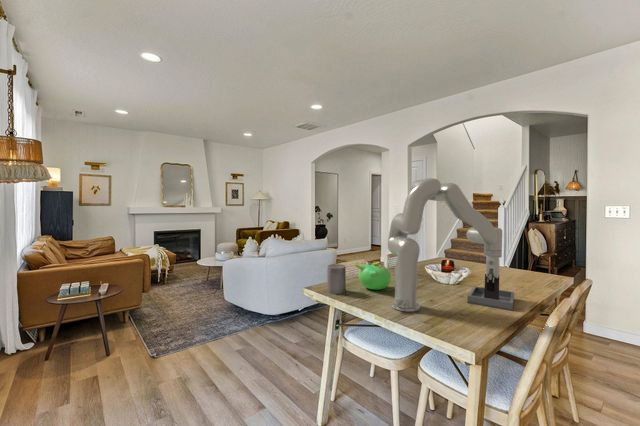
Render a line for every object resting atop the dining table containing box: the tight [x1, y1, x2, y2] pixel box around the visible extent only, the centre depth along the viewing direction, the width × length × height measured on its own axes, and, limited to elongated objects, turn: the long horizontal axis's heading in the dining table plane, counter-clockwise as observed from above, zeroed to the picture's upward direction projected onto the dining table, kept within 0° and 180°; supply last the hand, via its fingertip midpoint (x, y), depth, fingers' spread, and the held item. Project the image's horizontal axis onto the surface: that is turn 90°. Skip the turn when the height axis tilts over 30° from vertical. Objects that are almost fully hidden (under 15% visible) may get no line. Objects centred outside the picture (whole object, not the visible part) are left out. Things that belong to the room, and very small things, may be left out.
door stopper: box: [484, 273, 500, 300], centre depth 146 cm, size 9×6×12 cm, turn 148°
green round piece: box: [353, 261, 392, 291], centre depth 165 cm, size 18×17×15 cm
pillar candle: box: [326, 263, 347, 295], centre depth 160 cm, size 10×10×15 cm
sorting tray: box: [467, 286, 515, 312], centre depth 147 cm, size 20×18×4 cm
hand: (491, 288), depth 146 cm, fingers open, 9 cm apart
